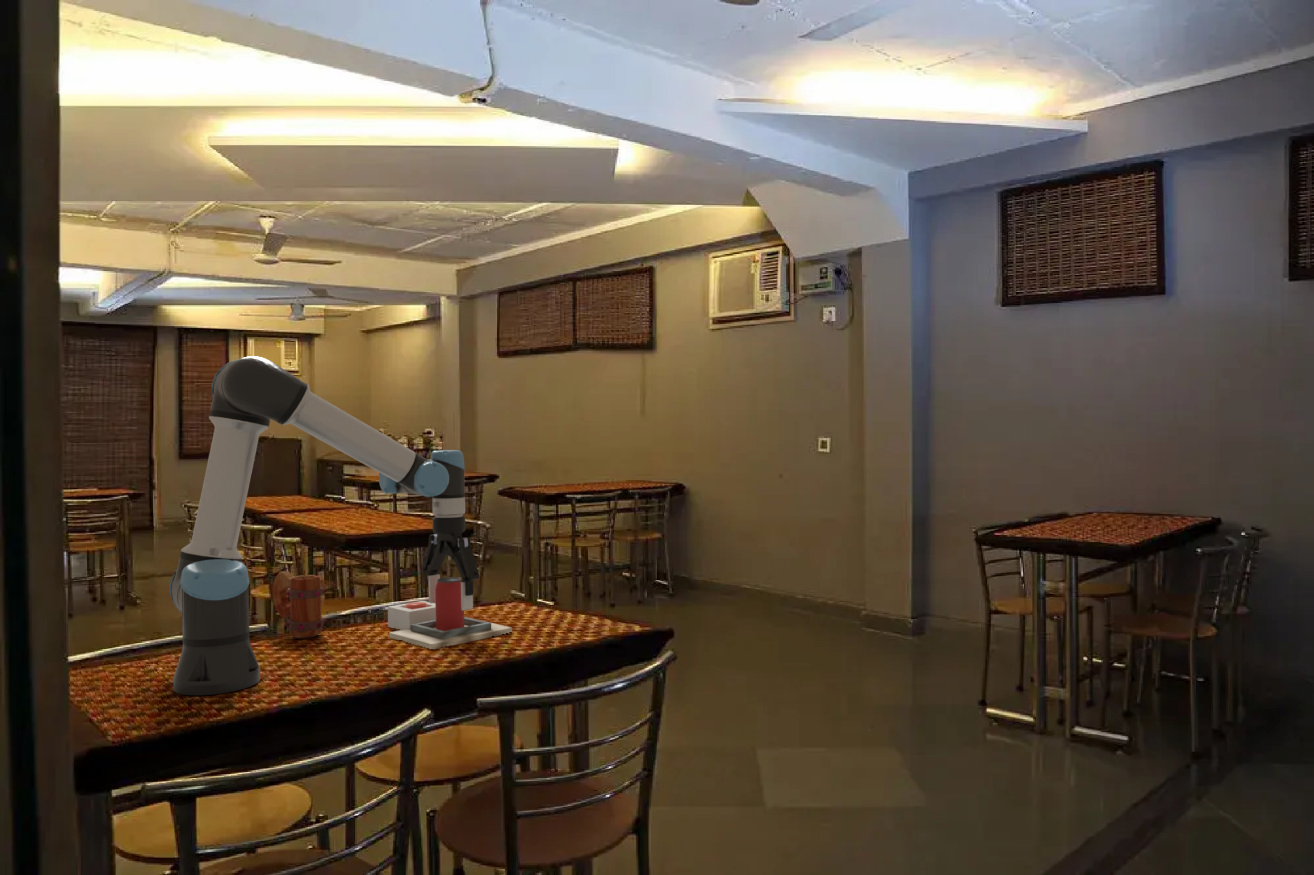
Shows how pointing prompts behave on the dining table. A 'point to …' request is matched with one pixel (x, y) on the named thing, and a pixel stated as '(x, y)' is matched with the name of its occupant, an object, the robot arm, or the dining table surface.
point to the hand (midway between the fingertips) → (450, 605)
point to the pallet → (448, 633)
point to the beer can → (448, 604)
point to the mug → (299, 603)
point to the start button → (415, 605)
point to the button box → (410, 615)
